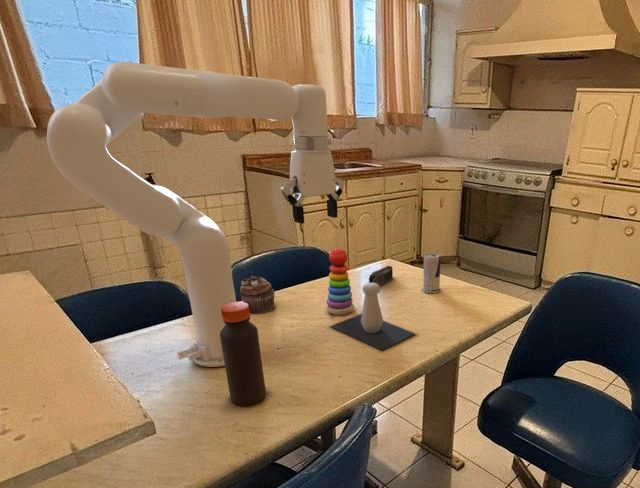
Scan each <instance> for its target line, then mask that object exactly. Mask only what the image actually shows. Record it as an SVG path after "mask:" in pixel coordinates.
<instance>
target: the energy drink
mask: <svg viewBox="0 0 640 488" xmlns="http://www.w3.org/2000/svg"><path fill="white" fill-rule="evenodd" d="M422 280H423V281H422V282H423V285H422V286H423V287H422V288H423V292H424V293H427V294H436V293H439V292H440V290H441V289H440V285H441V284H440V283H441V256H440V254H437V253H426V254H424V256H423V279H422Z"/></svg>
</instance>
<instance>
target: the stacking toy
mask: <svg viewBox="0 0 640 488" xmlns="http://www.w3.org/2000/svg"><path fill="white" fill-rule="evenodd" d="M328 256H329V257H328V259H329V261H330V263H331V264H332V265H330V267H329V271H330V272H329V274H328V277H329V280H328V284H329V285H328V287H327V290H328V293H327V299H326V307H325V309H326V312H328V313H329V314H332V315H334V316H335V315H336V316H340V315H348V314H350V313H352V312H353V311H354V309H355V305H354V303H353V302H354V301H353V297H352V296H353V293H352V291H351V290H352V286H351V285H350V283H351V281H350V278H349V272H348V269H349V268H348V267H349V266H347V264H346V263H347V261H348V253H347V252H346V251H345V250H344V249H343V248H339V247H338V248H334V249H332V250H331V251H330V253H329V255H328Z"/></svg>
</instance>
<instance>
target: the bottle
mask: <svg viewBox="0 0 640 488" xmlns="http://www.w3.org/2000/svg"><path fill="white" fill-rule="evenodd" d="M221 313H222V319H223V322H224V323H225V326H224V328H223V329H222V330H221V331H220V340H221V346H222V352H223V358H224V363H225V366H224V368H225V369H224V370H225V374H226V380H227V386H228V392H229V398H230V401H231V402H232V403H233V404H234V405H235V406H240V407H247V406H252V405H255V404H257V403H259V402H261V401H262V400H263V399H264V398H265V397H266V395H267V391H266V384H265V375H264V374H265V373H264V367H263V360H262V353H261V347H260V338H259V332H258V327H257V326H256V325H255V324H253V323H252V322H251V321H250V319H251V313H250V310H249V305H248V304H247V303H245V302H243V301H236V302H233V303H229V304H226V305H224V306H222V308H221Z"/></svg>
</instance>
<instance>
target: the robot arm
mask: <svg viewBox="0 0 640 488" xmlns="http://www.w3.org/2000/svg"><path fill="white" fill-rule="evenodd" d="M327 111H328V110H327V95H326V89H324V87H323V86H322V85H317V84H295V85H293V86H292V85H291V84H289V83H288V82H286V81H283V80H280V79H274V78H264V77H256V76H248V75H237V74H229V73H220V72H215V71H207V70H198V69H191V68H190V69H189V68H182V67H181V68H180V67H172V66H163V65H155V64H147V63H139V62H131V61H119V62H117V61H116V62H114V63H112V64H110V65H109V66H107V67H106V69H105V70H104V72H103V75H102V78H101V79H99V80H98V82H97V83H96V84H94V85H93V87H91V88H90V89H88V91H86V92H85V93H83V95H81V96H80V97H79V98H77V100H75V101H74V102H73V103H70V104H64V105H61V106H60V107H58V108H57V109H56V110H54V111H53V113H52V114H51V116H50V118H49V120H48V123H47V129H46V144H47V150H48V153H49V155H50V158H51V160H52V162H53V164H54V165H55V167H56V168H57V170H58V172H59V173H60V174H61V175H62V176H63V177H64V178H65V180H67V181H68V182H69V183H70V184H71V185H73V186H74V187H76V188H77V189H78V190H80V191H81V192H82V193H84V194H85V195H87V196H88V197H90V198H91V199H93V200H95V202H97V203H99V204H101V205H102V206H103V207H105V208H106V209H108V210H109V211H111V212H112V213H114V214H116V215H117V216H119V217H120V218H122V219H123V220H125V221H126V222H128V223H130V224H131V225H132V226H134V227H135V228H137V229H138V230H140V231H142V233H145V235H149V236H151V237H160V238H163V239H165V240H167V241H169V242H170V243H172V244H174V245H175V246H177V247H178V250H179V254H180V259H181V264H182V268H183V273H184V279H185V285H186V290H187V294H188V298H189V303H190V304H189V305H190V308H191V314H192V318H193V324H194V330H195V333H196V339H193V340H192V342H193V344H192V345H190V346H189V347H188V348H186V349H185V348H184V349H180V350H177V351H176V357H177V359H178V360H180V361H181V360H184V359H186V358H187V359H188V361H192V360H193V361H194V363H195V364H196V365H199V366H201V367H208V368H218V367H225V363H224V358H223V352H222V346H221V340H220V331H221V330H222V329H223V328H224V326H225V323H224V322H223V319H222V313H221V308H222V306H224V305H226V304H229V303H233V302H237V297H236V292H235V285H234V277H233V271H232V270H233V269H232V256H231V250H230V249H231V248H230V244H229V242H228V241H229V240H228V239H227V237H226V235H225V233H224V232H223V230H222V229H221V228H220V227H219V226H218V224H217V223H216V222H215V221H213V220H212V219H211V218H210V217H209V216H207V215H206V214H204V213H203V212H202V211H200V210H198V209H197V208H195V207H194V206H193V205H192V204H190V203H188V202H187V201H185V200H184V199H183V198H182V197H180V196H179V195H177V194H176V193H174V192H172V191H171V190H169V189H168V188H166V187H164V186H161V185H158V184H157V185H156V184H151V183H149V182H148V181H147V180H145V179H143V178H142V177H141V176H139V175H138V174H136V173H135V172H134V171H132V170H131V169H130V168H129V167H127V166H125V165H124V164H122V163H121V162H119V161H118V160H117V159H115V158H114V157H113V156H112V155H111V154H110V152H109V150H108V148H107V146H108V145H109V144H110V143H111V142H112V141H114V139H116V138H117V137H118V136H119V135H120V134H122V133H123V132H124V131H125V130H126V129H127V128H128V127H130V126H131V125H132V124H133V123H134V122H135V121H136V120H138V118H140V116H141V115H143V114H150V115H152V114H153V115H164V116H165V115H166V116H179V117H193V118H207V119H218V118H243V119H255V120H256V119H257V120H268V121H281V122H284V121H288V120H291V119H292V127H293V128H292V132H293V142H294V150H293V151H291V153H290V160H289V161H290V163H289V181H287V182H286V183H284V184H283V185H281V186H280V191H281V194H282V195H283V196H284V199H285V200H286V202H288V203H289V205H290V206H292V209H291V210H292V218H293V222H294V223H296V224H297V223H298V224H300V225H302V224H305V212H304V211H305V210H304V206H303V202H304V200H305V199H306V198H312V197H321V196H326V198H327V200H326V212H327V217H330V218H334V219H336V218H338V202H339V201H340V197H341V195H342V194H343V190H344V188H345V184H346V183H345V181H344V180H343V179H340V178H339V177H337V176H336V173H335V165H334V161H333V160H334V159H333V156H332V152H331V150H329V149H330V147H329V146H331V145H332V140H331V139H330V138H329V132H328V130H329V129H328V112H327Z"/></svg>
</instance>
